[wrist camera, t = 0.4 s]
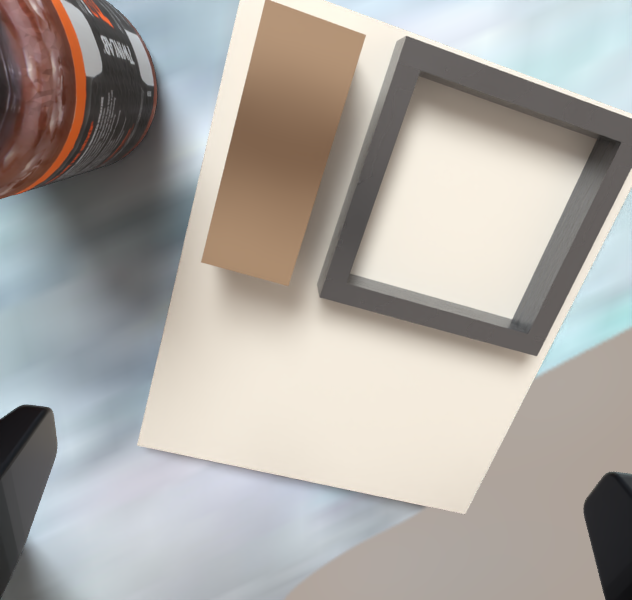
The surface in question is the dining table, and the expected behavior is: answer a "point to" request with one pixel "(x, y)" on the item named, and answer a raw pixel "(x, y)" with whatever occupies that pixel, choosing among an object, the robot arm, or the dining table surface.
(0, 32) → the supplement bottle
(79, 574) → the dining table surface
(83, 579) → the dining table surface
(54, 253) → the dining table surface
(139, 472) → the dining table surface
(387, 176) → the cream flat board
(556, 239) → the gray square frame
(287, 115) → the walnut wall block
